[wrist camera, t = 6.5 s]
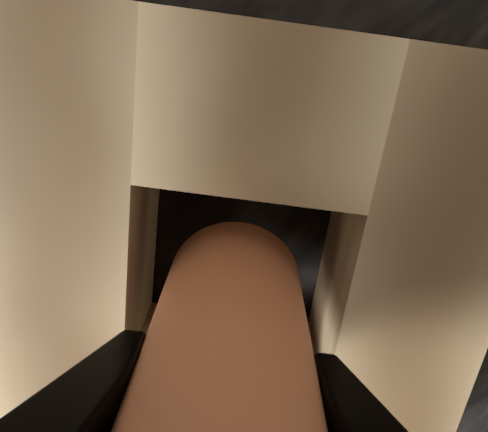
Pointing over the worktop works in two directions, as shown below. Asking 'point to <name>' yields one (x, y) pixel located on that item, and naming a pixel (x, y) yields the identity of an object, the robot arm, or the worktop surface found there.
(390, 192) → the socket block
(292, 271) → the peg
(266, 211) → the worktop surface
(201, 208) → the worktop surface
